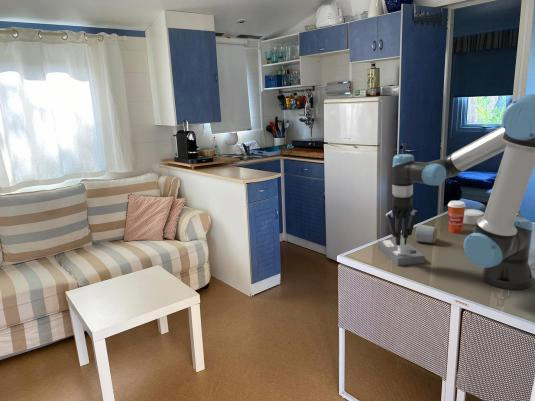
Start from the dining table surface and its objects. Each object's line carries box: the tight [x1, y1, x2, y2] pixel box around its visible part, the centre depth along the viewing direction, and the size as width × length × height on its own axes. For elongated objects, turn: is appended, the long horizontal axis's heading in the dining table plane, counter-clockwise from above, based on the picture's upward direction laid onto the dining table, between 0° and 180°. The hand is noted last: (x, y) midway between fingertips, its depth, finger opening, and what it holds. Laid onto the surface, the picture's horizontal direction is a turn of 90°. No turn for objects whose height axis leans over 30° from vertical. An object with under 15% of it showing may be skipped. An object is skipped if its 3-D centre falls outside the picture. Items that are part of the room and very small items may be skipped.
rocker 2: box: [392, 251, 405, 256], centre depth 166 cm, size 5×3×1 cm, turn 7°
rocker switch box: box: [377, 238, 426, 267], centre depth 171 cm, size 20×11×3 cm, turn 7°
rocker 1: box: [382, 239, 395, 247], centre depth 176 cm, size 5×3×1 cm, turn 8°
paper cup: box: [447, 200, 467, 234], centre depth 192 cm, size 8×8×14 cm
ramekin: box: [463, 208, 485, 226], centre depth 204 cm, size 11×11×5 cm
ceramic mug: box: [415, 223, 438, 244], centre depth 184 cm, size 11×8×8 cm
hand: (400, 252), depth 164 cm, fingers closed
